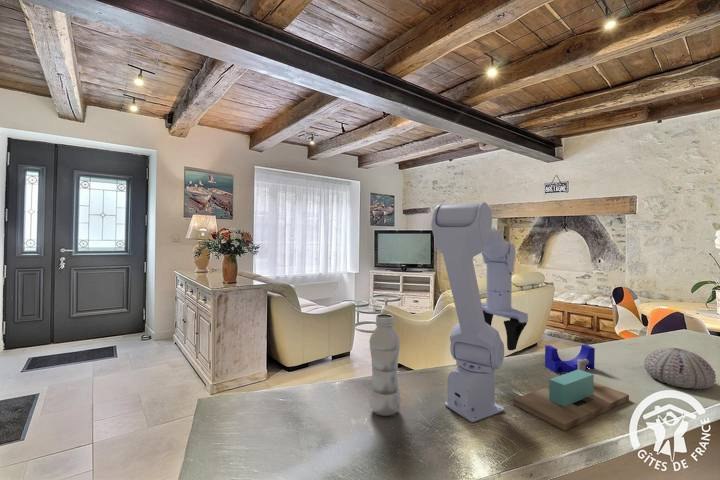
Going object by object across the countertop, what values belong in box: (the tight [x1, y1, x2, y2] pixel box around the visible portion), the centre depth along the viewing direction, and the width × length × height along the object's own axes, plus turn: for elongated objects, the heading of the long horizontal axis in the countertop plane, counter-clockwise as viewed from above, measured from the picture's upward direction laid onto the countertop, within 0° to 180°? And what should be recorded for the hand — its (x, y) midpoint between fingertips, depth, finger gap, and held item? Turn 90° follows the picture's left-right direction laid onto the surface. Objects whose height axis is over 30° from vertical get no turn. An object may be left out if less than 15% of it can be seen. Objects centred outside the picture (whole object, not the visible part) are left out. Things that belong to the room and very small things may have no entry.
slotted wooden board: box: [513, 359, 630, 431], centre depth 75 cm, size 25×11×6 cm, turn 119°
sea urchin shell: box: [643, 347, 717, 390], centre depth 85 cm, size 13×14×8 cm
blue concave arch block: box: [544, 344, 596, 374], centre depth 93 cm, size 12×4×6 cm, turn 93°
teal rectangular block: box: [548, 369, 595, 407], centre depth 74 cm, size 11×3×4 cm, turn 119°
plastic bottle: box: [369, 313, 401, 417], centre depth 71 cm, size 6×7×20 cm
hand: (498, 344), depth 84 cm, fingers open, 7 cm apart
